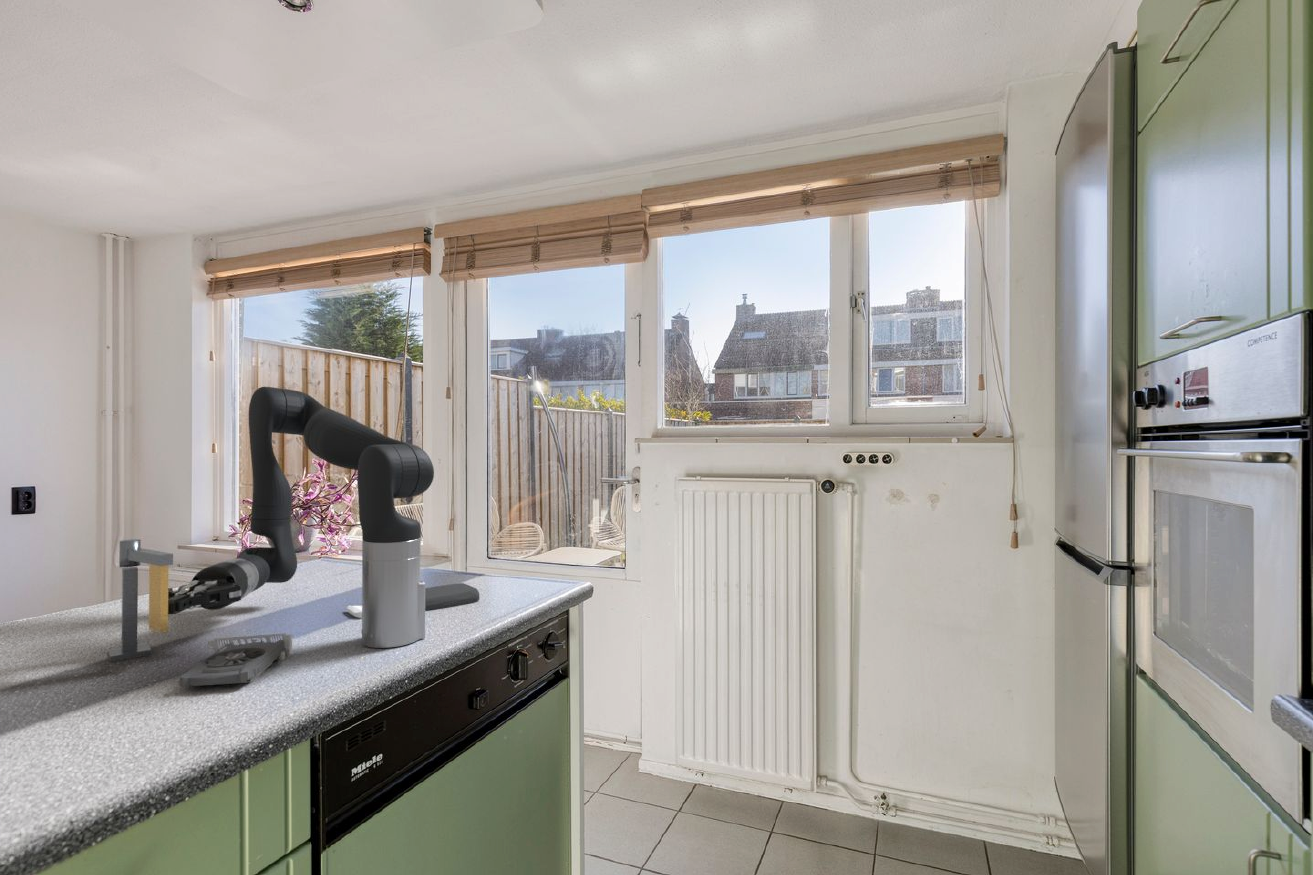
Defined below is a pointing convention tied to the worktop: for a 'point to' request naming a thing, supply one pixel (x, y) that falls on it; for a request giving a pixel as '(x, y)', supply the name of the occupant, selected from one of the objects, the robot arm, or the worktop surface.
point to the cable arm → (150, 578)
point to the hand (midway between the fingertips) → (169, 607)
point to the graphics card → (238, 660)
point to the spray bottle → (438, 597)
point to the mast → (129, 620)
